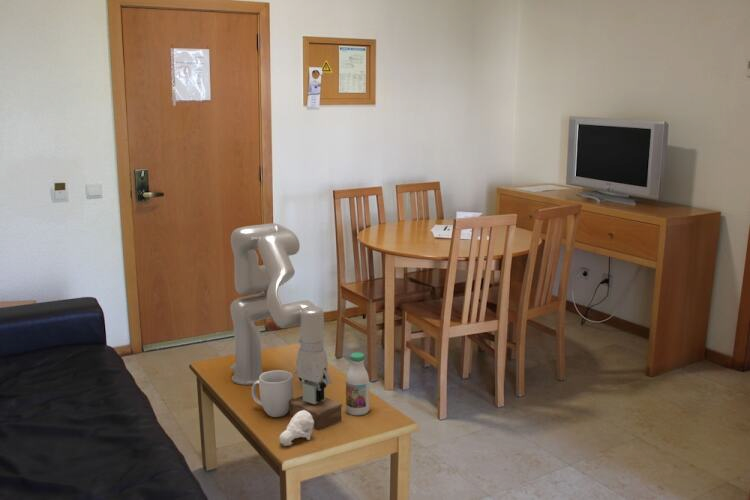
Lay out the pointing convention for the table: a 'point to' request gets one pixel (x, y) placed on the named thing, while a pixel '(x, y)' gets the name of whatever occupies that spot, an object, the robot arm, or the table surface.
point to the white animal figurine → (298, 427)
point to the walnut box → (318, 411)
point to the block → (310, 392)
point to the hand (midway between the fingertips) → (313, 397)
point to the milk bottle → (357, 386)
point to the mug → (274, 392)
